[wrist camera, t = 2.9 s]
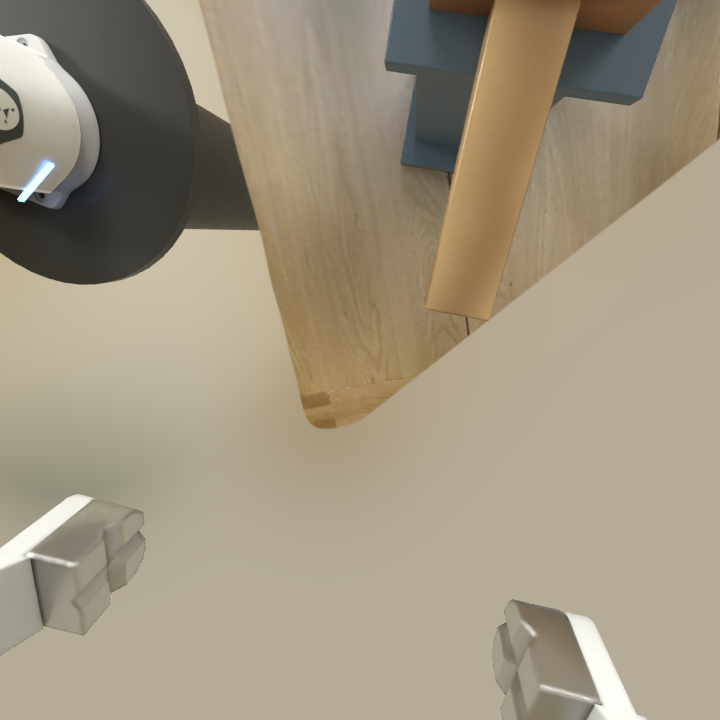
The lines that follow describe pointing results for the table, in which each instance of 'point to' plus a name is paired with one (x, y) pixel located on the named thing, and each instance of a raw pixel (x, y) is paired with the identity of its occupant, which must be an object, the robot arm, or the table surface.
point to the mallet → (506, 136)
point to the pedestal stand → (460, 59)
